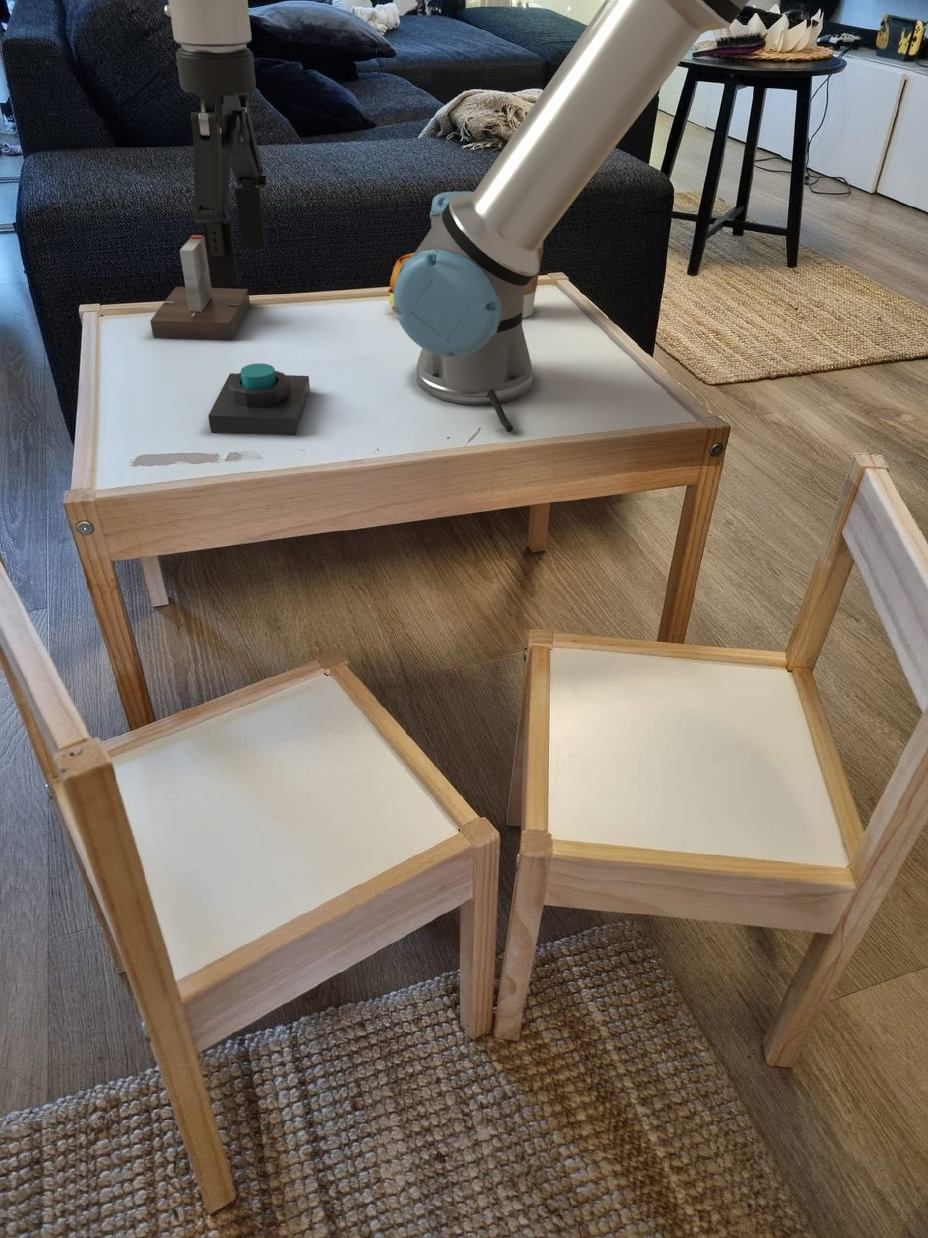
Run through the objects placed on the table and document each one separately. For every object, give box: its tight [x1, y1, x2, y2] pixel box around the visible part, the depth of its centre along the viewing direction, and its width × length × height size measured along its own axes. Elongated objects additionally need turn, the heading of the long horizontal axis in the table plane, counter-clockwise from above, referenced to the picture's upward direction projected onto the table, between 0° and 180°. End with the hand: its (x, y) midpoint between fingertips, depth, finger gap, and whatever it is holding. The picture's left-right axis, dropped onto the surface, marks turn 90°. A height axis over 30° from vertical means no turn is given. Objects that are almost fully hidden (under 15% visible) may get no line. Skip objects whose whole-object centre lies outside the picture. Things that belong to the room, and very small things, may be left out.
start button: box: [240, 362, 276, 389], centre depth 110 cm, size 4×4×2 cm
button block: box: [208, 370, 311, 436], centre depth 112 cm, size 12×10×4 cm
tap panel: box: [149, 286, 251, 341], centre depth 135 cm, size 14×11×3 cm
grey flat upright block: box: [179, 234, 212, 312], centre depth 131 cm, size 6×2×9 cm, turn 179°
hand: (240, 264), depth 105 cm, fingers open, 13 cm apart
